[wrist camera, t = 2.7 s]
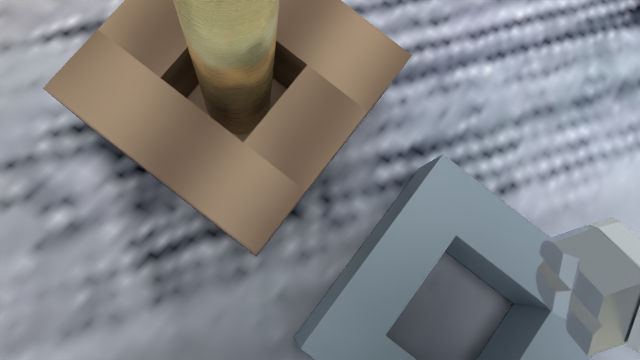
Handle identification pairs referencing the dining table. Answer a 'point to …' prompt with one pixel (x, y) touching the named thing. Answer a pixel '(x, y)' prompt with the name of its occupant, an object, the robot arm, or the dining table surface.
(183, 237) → the dining table surface
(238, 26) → the brass peg
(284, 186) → the walnut bore block
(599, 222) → the robot arm
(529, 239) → the slate socket block
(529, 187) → the dining table surface
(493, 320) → the dining table surface
